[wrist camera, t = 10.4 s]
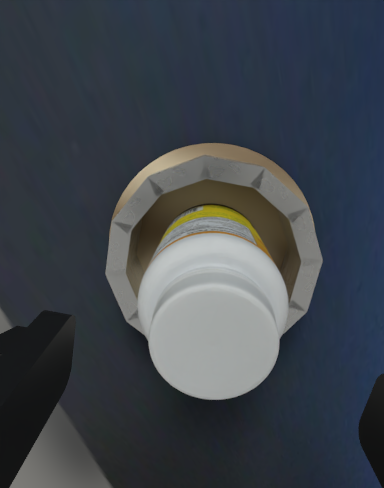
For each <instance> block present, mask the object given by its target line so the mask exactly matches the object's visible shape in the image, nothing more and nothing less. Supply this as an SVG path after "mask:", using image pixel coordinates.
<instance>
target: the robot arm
mask: <svg viewBox="0 0 384 488" xmlns="http://www.w3.org/2000/svg"><path fill="white" fill-rule="evenodd" d="M75 323H76V321H75V316H73V315H68V314H63V313H58V312H52V311H47V310H44V311H43V312H41V313H40V314H39V315H38V317H37V318H36V319H35V320H34V321H33V322H32V323H31V324H30V325H29V326H28V327H21V326H16V327H14V328H12V329H10V330H8V331H6V332H4V333H1V334H0V488H9V487H10V485H11V484H12V482H13V480H14V478H15V477H16V475H17V473H18V471H19V470H20V468H21V466H22V464H23V463H24V461H25V459H26V457H27V455H28V454H29V452H30V450H31V448H32V447H33V445H34V443H35V441H36V440H37V438H38V436H39V434H40V433H41V431H42V429H43V427H44V425H45V424H46V422H47V420H48V418H49V417H50V415H51V413H52V411H53V410H54V408H55V406H56V404H57V403H58V401H59V399H60V397H61V396H62V394H63V392H64V390H65V388H66V385H67V383H68V379H69V376H70V372H71V366H72V356H73V345H74V335H75ZM359 439H360V443H361V446H362V448H363V451H364V452H365V454H366V456H367V458H368V460H369V462H370V464H371V466H372V468H373V470H374V472H375V474H376V476H377V478H378V480H379V482H380V484H381V486H382V488H384V374H381V375H380V376H379V377H378V378H377V380H376V382H375V384H374V387H373V389H372V392H371V394H370V397H369V399H368V401H367V404H366V406H365V409H364V411H363V414H362V416H361V419H360V422H359Z"/></svg>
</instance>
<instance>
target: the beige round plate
mask: <svg viewBox="0 0 384 488" xmlns="http://www.w3.org/2000/svg"><path fill="white" fill-rule="evenodd" d="M204 154H206V155H211V156H217V157H222V158H227V159H232V160H237V161H243V162H248V163H253V164H257V165H260V166H262V167H265V168H266V169H267V170H268V171H269V172H271V173H272V174H273V175H274V176H275V177H276V178H277V179H278V180H279V181H280V182H281V183H283V184H284V185H285V186H286V187H287V188H288V189H289V190H290V191H291V192H292V193H294V194H295V195H296V196H297V197H298V198H299V199H300V200H301V201H302V202H303V203H304V204H306V205H307V206H308V203H307V201H306V199H305V197H304V195H303V193H302V192H301V190H300V189H299V187H298V186H297V185H296V183H295V182H294V180H293V179H292V178H291V177H290V176H289V175H288V174H287V173H286V172H285V171H284V170H283V169H282V168H280V167H279V166H278V165H277V164H275V163H274V162H273V161H271V160H270V159H268V158H266V157H264V156H263V155H261V154H259V153H256V152H254V151H252V150H249V149H247V148H243V147H239V146H235V145H230V144H221V143H203V144H197V145H190V146H186V147H183V148H180V149H176V150H174V151H171V152H169V153H167V154H165V155H163V156H161V157H159V158H158V159H156V160H155V161H153V162H151V163H150V164H149V165H147V166H146V167H145V168H144V169H143V170H141V171H140V172H139V173H138V174H137V175H136V177H135V178H134V179H133V180H132V181H131V182H130V183H129V185H128V186H127V188H126V189H125V191H124V192H123V194H122V196H121V198H120V200H119V202H118V204H117V206H116V208H115V211H114V214H113V217H112V220H113V219H114V218H115V217H116V215H117V214H118V213H119V212H120V210H121V209H122V208H123V207H124V205H125V204H126V203H127V202H128V200H129V199H130V198H131V197H132V195H133V194H134V193H135V192H136V190H137V189H138V188H139V187H140V185H141V184H142V183H143V182H144V180H145V179H146V178H147V177H148V176H150V175H151V174H153V173H155V172H157V171H160V170H163V169H165V168H168V167H171V166H174V165H176V164H179V163H182V162H185V161H187V160H190V159H193V158H196V157H198V156H201V155H204ZM206 203H215V204H222V205H226V206H229V207H231V208H233V209H235V210H237V211H239V212H240V213H241V214H243V215H244V216H245V217H246V218H247V219H248V220H249V221H250V222H251V224H252V225H253V226H254V228H255V230H256V232H257V233H258V235H259V237H260V238H261V240H262V242H263V244H264V245H265V247H266V248H267V250H268V252H269V254H270V256H271V257H272V259H273V261H274V263H275V264H276V266H277V268H278V270H279V272H280V270H281V267H282V263H283V260H284V256H285V252H286V249H287V242H286V239H285V235H284V232H283V228H282V225H281V221H280V218H279V215H278V211H277V208H276V207H275V206H274V205H272V204H271V203H270V202H269V201H268V200H267V199H266V198H265V197H264V196H262V195H261V194H260V193H259V192H258V191H257V190H256V189H255V188H252V187H247V186H242V185H236V184H231V183H226V182H221V181H215V180H210V179H204V180H201V181H198V182H196V183H193V184H190V185H187V186H184V187H181V188H179V189H176V190H173V191H170V192H167V193H165V194H162V195H161V196H160V197H159V198H158V199H157V200H156V202H155V203H154V204H153V205H152V207H151V208H150V209H149V210H148V211H147V213H146V214H145V215H144V216H143V217H142V222H141V229H140V236H139V243H138V250H137V257H138V259H139V262H140V264H141V267H142V269H143V271H144V274H145V271H146V270H147V268H148V266H149V264H150V262H151V260H152V258H153V256H154V254H155V251H156V249H157V247H158V245H159V244H160V242H161V240H162V238H163V236H164V234H165V232H166V230H167V228H168V227H169V225H170V224H171V223H172V221H173V220H174V219H175V218H176V217H177V216H178V215H179V214H180V213H182V212H183V211H185V210H187V209H189V208H191V207H193V206H196V205H200V204H206ZM308 207H309V206H308ZM309 211H310V208H309ZM310 215H311V218H312V222H313V217H312V214H311V211H310ZM111 224H112V222H111ZM313 226H314V222H313ZM314 230H315V228H314ZM110 232H111V227H110ZM109 240H110V235H109Z"/></svg>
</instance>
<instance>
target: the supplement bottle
mask: <svg viewBox="0 0 384 488" xmlns="http://www.w3.org/2000/svg"><path fill="white" fill-rule="evenodd" d="M288 308H289V303H288V294H287V290H286V286H285V283H284V280H283V278H282V275H281V274H280V272H279V270H278V268H277V266H276V264H275V263H274V261H273V259H272V257H271V256H270V254H269V252H268V250H267V248H266V247H265V245H264V244H263V242H262V240H261V238H260V237H259V235H258V233H257V232H256V230H255V228H254V226H253V225H252V224H251V222H250V221H249V220H248V219H247V218H246V217H245V216H244V215H243V214H241V213H240V212H239V211H237V210H235V209H233V208H231V207H229V206H226V205H222V204H215V203H206V204H200V205H196V206H193V207H191V208H189V209H187V210H185V211H183V212H182V213H180V214H179V215H178V216H177V217H176V218H175V219H174V220H173V221H172V223H171V224H170V225H169V227H168V228H167V230H166V232H165V234H164V236H163V238H162V240H161V242H160V244H159V245H158V247H157V249H156V251H155V254H154V256H153V258H152V260H151V262H150V264H149V266H148V268H147V270H146V271H145V274H144V276H143V278H142V281H141V284H140V288H139V293H138V301H137V309H138V317H139V321H140V324H141V327H142V330H143V332H144V334H145V336H146V338H147V340H148V344H149V351H150V355H151V358H152V361H153V363H154V365H155V367H156V369H157V371H158V372H159V373H160V374H161V376H162V377H163V378H164V379H165V380H166V381H167V382H168V383H169V384H170V385H171V386H173V387H174V388H176V389H177V390H179V391H181V392H183V393H185V394H187V395H190V396H193V397H197V398H201V399H208V400H222V399H229V398H233V397H237V396H240V395H242V394H245V393H247V392H248V391H250V390H252V389H253V388H255V387H256V386H258V385H259V384H260V383H261V382H262V381H263V380H264V379H265V378H266V377H267V376H268V375H269V373H270V372H271V370H272V368H273V367H274V365H275V362H276V360H277V357H278V352H279V339H280V337H281V335H282V333H283V331H284V329H285V325H286V322H287V318H288Z"/></svg>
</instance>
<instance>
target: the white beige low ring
mask: <svg viewBox="0 0 384 488" xmlns="http://www.w3.org/2000/svg"><path fill="white" fill-rule="evenodd" d="M204 179H210V180H215V181H221V182H226V183H231V184H236V185H242V186H247V187H252V188H255V189H256V190H257V191H258V192H259V193H260V194H261V195H262V196H264V197H265V198H266V199H267V200H268V201H269V202H270V203H271V204H272V205H274V206H275V207H276V208H277V211H278V215H279V218H280V221H281V225H282V228H283V232H284V235H285V239H286V242H287V249H286V252H285V256H284V260H283V263H282V267H281V270H280V274H281V275H282V278H283V280H284V283H285V286H286V290H287V294H288V303H289V308H288V318H287V322H286V325H285V329H284V331H283V333H282V335H283V334H284V333H285V332H286V331H287V330H288V329H289V328H290V327H291V326H292V325H293V324H295V323H296V322H297V321H298V320H299V319H300V318H301V317H302V316H303V315H304V314H305V313H306V312H307V310H308V307H309V304H310V301H311V298H312V294H313V291H314V288H315V285H316V281H317V278H318V275H319V272H320V268H321V265H322V262H323V260H322V256H321V252H320V248H319V245H318V241H317V237H316V233H315V230H314V226H313V222H312V218H311V215H310V211H309V207H308V206H307V205H306V204H304V203H303V202H302V201H301V200H300V199H299V198H298V197H297V196H296V195H295V194H294V193H292V192H291V191H290V190H289V189H288V188H287V187H286V186H285V185H284V184H283V183H281V182H280V181H279V180H278V179H277V178H276V177H275V176H274V175H273V174H272V173H271V172H269V171H268V170H267V169H266V168H265V167H262V166H260V165H257V164H253V163H248V162H243V161H237V160H232V159H227V158H222V157H217V156H211V155H206V154H204V155H201V156H198V157H196V158H193V159H190V160H187V161H185V162H182V163H179V164H176V165H174V166H171V167H168V168H165V169H163V170H160V171H157V172H155V173H153V174H151V175H150V176H148V177H147V178H146V179H145V180H144V182H143V183H142V184H141V185H140V187H139V188H138V189H137V190H136V192H135V193H134V194H133V195H132V197H131V198H130V199H129V200H128V202H127V203H126V204H125V205H124V207H123V208H122V209H121V210H120V212H119V213H118V214H117V215H116V217H115V218H114V219H113V220H112V224H111V232H110V240H109V249H108V257H107V265H106V273H105V275H106V277H107V279H108V281H109V284H110V286H111V288H112V290H113V293H114V295H115V297H116V299H117V301H118V304H119V306H120V308H121V310H122V313H123V315H124V317H125V319H126V321H127V322H128V323H129V324H130V325H132V326H133V327H134V328H136V329H137V330H138V331H140V332H141V333H142V334H144V332H143V330H142V327H141V324H140V321H139V317H138V309H137V301H138V293H139V288H140V284H141V281H142V278H143V276H144V271H143V269H142V267H141V264H140V262H139V259H138V257H137V250H138V243H139V236H140V229H141V222H142V217H143V216H144V215H145V214H146V213H147V211H148V210H149V209H150V208H151V207H152V205H153V204H154V203H155V202H156V200H157V199H158V198H159V197H160V196H161V195H162V194H165V193H167V192H170V191H173V190H176V189H179V188H181V187H184V186H187V185H190V184H193V183H196V182H198V181H201V180H204ZM144 335H145V334H144ZM282 335H281V336H282Z"/></svg>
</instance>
